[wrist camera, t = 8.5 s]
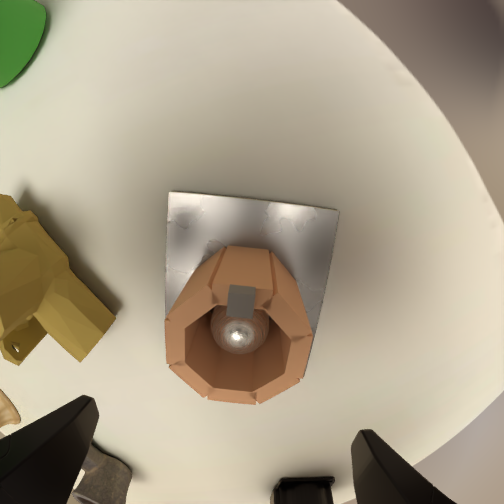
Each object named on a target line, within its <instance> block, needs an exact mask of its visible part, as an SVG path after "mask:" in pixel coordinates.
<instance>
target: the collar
mask: <svg viewBox="0 0 504 504" xmlns="http://www.w3.org/2000/svg"><path fill="white" fill-rule="evenodd" d="M216 305H225V306H227V313H226V316H228V317H237V318H247V319H253V311H254V309H262V310H265V311H266V312H267V313H268V314H269V316H270V317H271V318H272V319H270V320H269V332H268V335H267V338H266V340H265V341H264V343H263V344H262V345H261V346H260V347H259V348H258V349H256V350H254V351H253V352H250V353H247V354H233V353H230V352H228V351H226V350H224V349H223V348H221V347H220V346H219V345H218V344H217V343H216V341H215V340H214V338H213V335H212V332H211V318H212V315H213V314H212V313H211V312H210V311H209V310H211V309H212V308H213V307H215V306H216ZM312 340H313V334H312V330H311V327H310V324H309V320H308V317H307V314H306V311H305V307H304V304H303V301H302V298H301V295H300V291H299V288H298V285H297V282H296V280H295V279H294V278H293V277H292V275H291V274H290V273H289V272H288V270H287V269H286V268H285V267H284V265H283V264H282V263H281V262H280V261H279V259H278V258H277V257H276V256H275V254H274V253H273V252H271V253H270V254H269V250H267V249H258V248H249V247H239V246H230V245H228V246H227V249H226V248H225V247H223V248H221V249H220V250H219V251H218V252H217V253H215V254H214V255H213V256H212V257H210V258H209V259H208V260H207V261H205V262H204V263H203V264H202V265H200V266H199V267H198V268H197V269H196V270H194V272H193V274H192V275H191V277H190V278H189V280H188V282H187V283H186V285H185V287H184V288H183V290H182V291H181V293H180V295H179V296H178V298H177V300H176V301H175V303H174V305H173V306H172V308H171V310H170V311H169V313H168V315H167V316H166V319H165V343H166V361H167V364H170V365H169V368H170V369H171V370H172V371H173V372H174V373H175V374H177V375H178V376H179V377H180V378H181V379H182V380H183V381H184V382H186V383H187V384H188V385H189V386H190V387H191V388H192V389H194V390H195V391H196V392H197V393H198V394H200V395H201V396H202V397H203V398H204V397H206V396H207V395H208V400H215V401H223V402H232V403H242V404H253V405H255V404H256V401H257V402H258V403H259V404H261V403H262V402H264V401H266V400H268V399H270V398H272V397H274V396H276V395H277V394H279V393H281V392H283V391H285V390H286V389H288V388H290V387H292V386H293V385H295V384H297V383H299V382H300V379H299V378H302V379H303V375H304V371H305V368H306V364H307V360H308V356H309V352H310V348H311V344H312Z"/></svg>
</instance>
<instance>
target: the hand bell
mask: <svg viewBox="0 0 504 504" xmlns="http://www.w3.org/2000/svg"><path fill="white" fill-rule="evenodd" d="M19 423H20V416H19V414H18V412H17V410H16V408H15V407H14V405H13V404H12V402H11V401H10V400H9V399H8V397H7V396H6V395H5V394H4V393H3V392H2V391H1V390H0V428H1V427H2V426H4V425H7V424H19Z"/></svg>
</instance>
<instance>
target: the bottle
mask: <svg viewBox="0 0 504 504" xmlns="http://www.w3.org/2000/svg"><path fill="white" fill-rule="evenodd" d="M45 20H46V11H45V8H44V6H43V5H41V4H39V3H38V2H36V1H34V0H0V88H1V87H3V86H5V85H7V84H8V83H9V82H10V81H11V80H12V79H13V78H14V77H15V76H16V75H18V74H19V73H20V72H21V71H22V69H23V68H24V67H25V65H26V64H27V63H28V62H29V60H30V59H31V57H32V56H33V54H34V52H35V50H36V49H37V47H38V44H39V42H40V39H41V37H42V34H43V30H44V26H45Z"/></svg>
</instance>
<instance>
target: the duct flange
mask: <svg viewBox="0 0 504 504" xmlns="http://www.w3.org/2000/svg"><path fill="white" fill-rule="evenodd" d="M339 212H340V211H338V210H335V209H329V208H322V207H315V206H308V205H301V204H293V203H285V202H278V201H269V200H261V199H252V198H243V197H234V196H224V195H214V194H203V193H191V192H179V191H171V192H169V200H168V216H167V237H166V276H165V307H166V316H167V315H168V313H169V311H170V310H171V308H172V306H173V305H174V303H175V301H176V300H177V298H178V296H179V295H180V293H181V291H182V290H183V288H184V287H185V285H186V283H187V282H188V280H189V278H190V277H191V275H192V274H193V272H194V270H196V269H197V268H198V267H199V266H200V265H202V264H203V263H204V262H205V261H207V260H208V259H209V258H210V257H212V256H213V255H214V254H215V253H217V252H218V251H219V250H220V249H221V248H223V247H225V248H226V249H227V246H228V245H230V246H239V247H249V248H258V249H267V250H269V254H270V253H271V252H273V253H274V254H275V256H276V257H277V258H278V259H279V261H280V262H281V263H282V264H283V265H284V267H285V268H286V269H287V270H288V272H289V273H290V274H291V275H292V277H293V278H294V279H295V280H296V282H297V285H298V288H299V291H300V295H301V298H302V301H303V304H304V307H305V311H306V314H307V317H308V320H309V324H310V327H311V330H312V334H313V340H314V336H315V332H316V328H317V324H318V319H319V315H320V311H321V306H322V302H323V297H324V293H325V288H326V283H327V278H328V273H329V268H330V263H331V258H332V253H333V247H334V242H335V236H336V230H337V224H338V218H339ZM209 311H210V312H211V313H212V314H213V315H212V318H211V332H212V335H213V338H214V340H215V341H216V343H217V344H218V345H219V346H220V347H221V348H223V349H224V350H226V351H228V352H230V353H233V354H247V353H250V352H253V351H254V350H256V349H258V348H259V347H260V346H261V345H262V344H263V343H264V341H265V340H266V338H267V335H268V332H269V320H270V319H272V318H271V317H270V316H269V314H268V313H267V312H266V311H265V310H262V309H254V311H253V319H247V318H237V317H228V316H226V313H227V306H225V305H216V306H215V307H213V308H212V309H211V310H209ZM313 340H312V344H313ZM312 344H311V348H312ZM311 348H310V352H311ZM310 352H309V356H310ZM309 356H308V360H309ZM308 360H307V363H308ZM306 367H307V364H306ZM305 371H306V368H305ZM305 371H304V374H305ZM303 377H304V375H303Z"/></svg>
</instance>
